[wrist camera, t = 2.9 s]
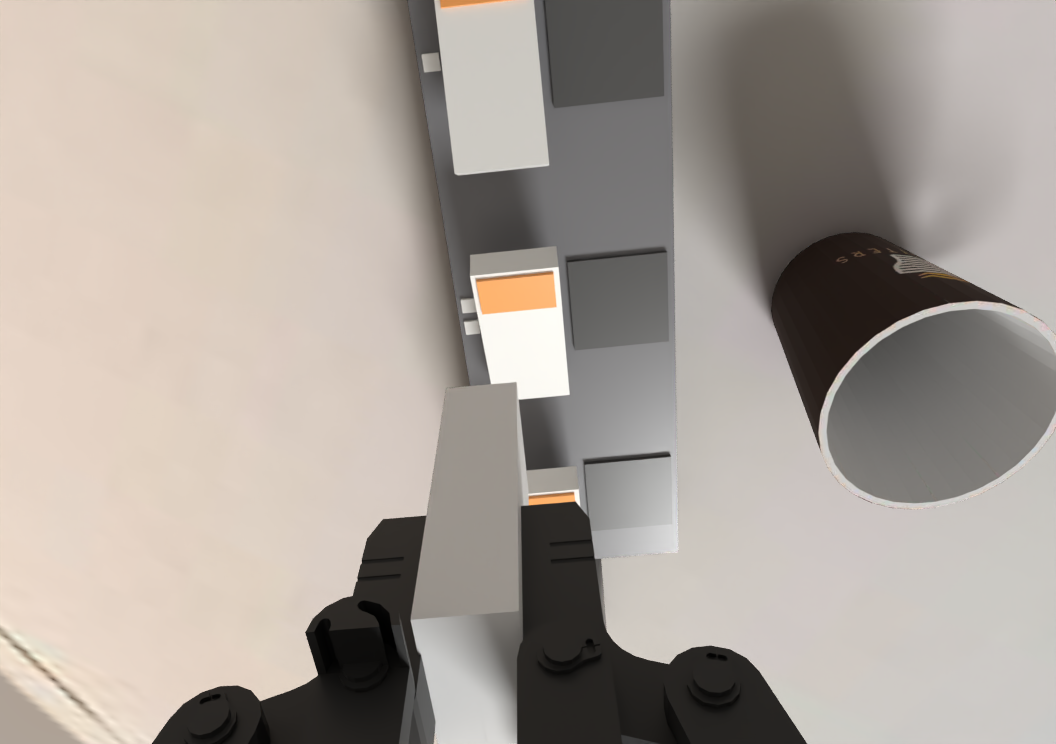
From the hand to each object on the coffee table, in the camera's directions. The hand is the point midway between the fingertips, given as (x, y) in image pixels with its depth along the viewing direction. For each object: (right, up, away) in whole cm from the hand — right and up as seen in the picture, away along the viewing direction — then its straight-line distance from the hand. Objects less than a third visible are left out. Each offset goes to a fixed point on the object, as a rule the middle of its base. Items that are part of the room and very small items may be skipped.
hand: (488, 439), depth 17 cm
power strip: (+3, +2, +21) cm, 21 cm away
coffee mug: (+17, +4, +20) cm, 26 cm away
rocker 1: (0, +12, +9) cm, 15 cm away
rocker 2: (+1, +3, +14) cm, 14 cm away
